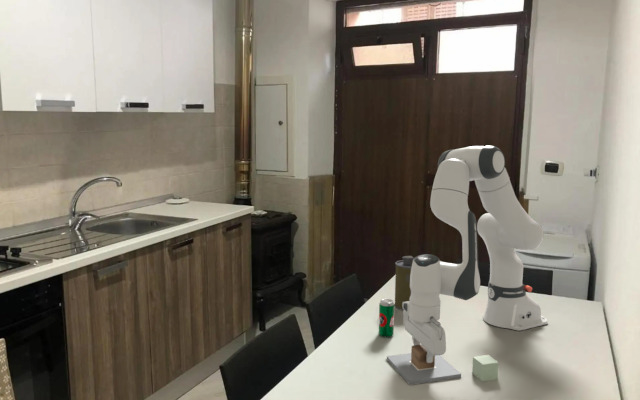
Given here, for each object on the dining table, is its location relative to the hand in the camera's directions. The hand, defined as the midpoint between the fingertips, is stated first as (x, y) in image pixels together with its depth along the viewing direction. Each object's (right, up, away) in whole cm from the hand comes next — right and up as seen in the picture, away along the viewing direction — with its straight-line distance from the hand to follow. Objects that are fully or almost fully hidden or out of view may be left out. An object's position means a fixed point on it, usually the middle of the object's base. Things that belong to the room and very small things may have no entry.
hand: (422, 356), depth 152 cm
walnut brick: (0, -3, 0) cm, 2 cm away
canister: (+4, +4, +51) cm, 51 cm away
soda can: (-8, 0, +24) cm, 25 cm away
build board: (0, -4, 0) cm, 4 cm away
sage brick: (+17, -4, -4) cm, 18 cm away
